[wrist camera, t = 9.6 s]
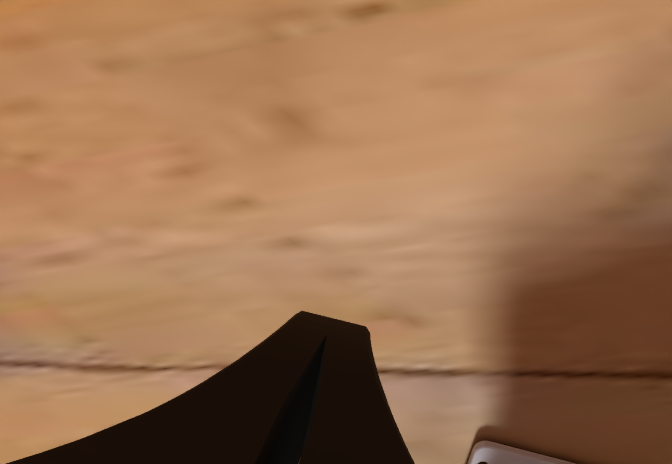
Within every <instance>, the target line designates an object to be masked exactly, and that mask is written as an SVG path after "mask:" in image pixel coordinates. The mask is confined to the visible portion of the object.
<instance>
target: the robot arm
mask: <svg viewBox="0 0 672 464" xmlns="http://www.w3.org/2000/svg"><path fill="white" fill-rule="evenodd" d="M481 461H482V462H487V464H576V463H572V462H568V461H564V460H560V459H557V458H553V457H549V456H545V455H541V454H537V453H533V452H530V451H526V450H522V449H518V448H514V447H510V446H506V445H503V444H499V443H495V442H491V441H480V442H478V443H476V444H475V446H474V447H473V450H472V452H471V455H470V458H469V461H468V464H478V463H479V462H481ZM298 463H299V464H415V463H414V461H413V459H412V457H411V455H410V453H409V451H408V449H407V447H406V445H405V443H404V441H403V438H402V436H401V434H400V431H399V429H398V427H397V425H396V422H395V420H394V417H393V415H392V412H391V410H390V407H389V405H388V402H387V399H386V396H385V393H384V390H383V387H382V385H381V382H380V379H379V375H378V372H377V368H376V364H375V361H374V357H373V352H372V347H371V340H370V332H369V331H368V329H367V328H366V326H362V325H358V324H354V323H350V322H345V321H341V320H337V319H333V318H329V317H325V316H321V315H317V314H313V313H309V312H305V311H301V312H299V313H297V314H295V315H294V316H293V317H292V318H291V319H290V320H289V321H287V322H286V323H285V324H284V325H283V326H281V327H280V328H279V329H278V330H277V331H275V332H274V333H273V334H272V335H270V336H269V337H268V338H267V339H265V340H264V341H263V342H261V343H260V344H259V345H257V346H256V347H255V348H253V349H252V350H250V351H249V352H248V353H246V354H245V355H244V356H242V357H241V358H239V359H238V360H237V361H235V362H234V363H232V364H231V365H229V366H227V367H226V368H224V369H223V370H221V371H219V372H218V373H216V374H215V375H213V376H212V377H210V378H208V379H207V380H205V381H204V382H202V383H200V384H199V385H197V386H195V387H194V388H192V389H190V390H188V391H186V392H185V393H183V394H181V395H179V396H177V397H176V398H174V399H172V400H170V401H168V402H166V403H164V404H162V405H160V406H158V407H156V408H154V409H152V410H150V411H148V412H146V413H143V414H141V415H139V416H136V417H134V418H131V419H129V420H126V421H124V422H122V423H119V424H117V425H114V426H112V427H109V428H107V429H104V430H102V431H100V432H97V433H95V434H92V435H90V436H87V437H85V438H82V439H79V440H77V441H74V442H71V443H68V444H65V445H62V446H59V447H56V448H53V449H51V450H48V451H45V452H42V453H39V454H35V455H32V456H29V457H26V458H23V459H19V460H16V461H13V462H10V463H6V464H298Z"/></svg>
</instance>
